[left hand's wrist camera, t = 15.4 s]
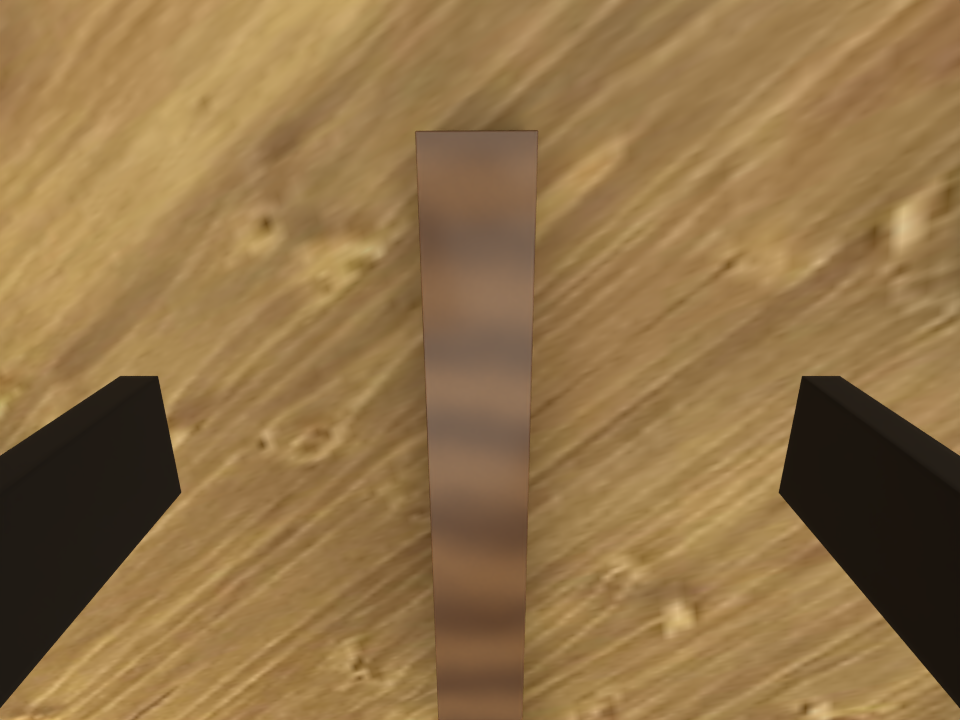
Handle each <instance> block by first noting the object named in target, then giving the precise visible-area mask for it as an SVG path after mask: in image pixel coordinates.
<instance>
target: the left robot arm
mask: <svg viewBox="0 0 960 720" xmlns="http://www.w3.org/2000/svg"><path fill="white" fill-rule="evenodd" d="M180 494H181V489H180V484H179V479H178V474H177V469H176V464H175V459H174V454H173V449H172V444H171V439H170V434H169V429H168V424H167V419H166V414H165V409H164V404H163V399H162V394H161V389H160V384H159V379H158V376H120V377H118V378H117V379H115V380H114V381H112V382H111V383H109V384H108V385H106V386H105V387H103V388H102V389H100V390H99V391H97V392H96V393H94V394H93V395H91V396H90V397H88V398H87V399H85V400H84V401H82V402H81V403H79V404H78V405H76V406H75V407H73V408H72V409H70V410H69V411H67V412H66V413H64V414H63V415H61V416H60V417H58V418H56V419H55V420H53V421H52V422H50V423H49V424H47V425H46V426H44V427H43V428H41V429H40V430H38V431H37V432H35V433H34V434H32V435H31V436H29V437H28V438H26V439H25V440H23V441H22V442H20V443H19V444H17V445H16V446H14V447H13V448H11V449H10V450H8V451H7V452H5V453H4V454H2V455H1V456H0V708H1V707H2V705H3V704H4V703H5V702H6V701H7V699H8V698H9V697H10V696H11V695H12V693H13V692H14V691H15V690H16V689H17V688H18V686H19V685H20V684H21V683H22V682H23V680H24V679H25V678H26V677H27V676H28V674H29V673H30V672H31V671H32V670H33V668H34V667H35V666H36V665H37V664H38V663H39V661H40V660H41V659H42V658H43V657H44V655H45V654H46V653H47V652H48V651H49V649H50V648H51V647H52V646H53V645H54V643H55V642H56V641H57V640H58V639H59V638H60V636H61V635H62V634H63V633H64V632H65V630H66V629H67V628H68V627H69V626H70V624H71V623H72V622H73V621H74V620H75V618H76V617H77V616H78V615H79V614H80V613H81V611H82V610H83V609H84V608H85V607H86V605H87V604H88V603H89V602H90V601H91V599H92V598H93V597H94V596H95V595H96V594H97V592H98V591H99V590H100V589H101V588H102V586H103V585H104V584H105V583H106V582H107V580H108V579H109V578H110V577H111V576H112V574H113V573H114V572H115V571H116V570H117V569H118V567H119V566H120V565H121V564H122V563H123V561H124V560H125V559H126V558H127V557H128V555H129V554H130V553H131V552H132V551H133V549H134V548H135V547H136V546H137V545H138V544H139V542H140V541H141V540H142V539H143V538H144V536H145V535H146V534H147V533H148V532H149V530H150V529H151V528H152V527H153V526H154V524H155V523H156V522H157V521H158V520H159V519H160V517H161V516H162V515H163V514H164V513H165V511H166V510H167V509H168V508H169V507H170V505H171V504H172V503H173V502H174V501H175V499H176V498H177V497H178V496H179V495H180ZM779 494H780V495H781V496H782V497H783V498H784V499H785V501H786V502H787V503H788V504H789V505H790V507H791V508H792V509H793V510H794V511H795V513H796V514H797V515H798V516H799V517H800V519H801V520H802V521H803V522H804V523H805V524H806V526H807V527H808V528H809V529H810V530H811V532H812V533H813V534H814V535H815V536H816V538H817V539H818V540H819V541H820V542H821V544H822V545H823V546H824V547H825V548H826V549H827V551H828V552H829V553H830V554H831V555H832V557H833V558H834V559H835V560H836V561H837V563H838V564H839V565H840V566H841V567H842V569H843V570H844V571H845V572H846V573H847V574H848V576H849V577H850V578H851V579H852V580H853V582H854V583H855V584H856V585H857V586H858V588H859V589H860V590H861V591H862V592H863V594H864V595H865V596H866V597H867V598H868V599H869V601H870V602H871V603H872V604H873V605H874V607H875V608H876V609H877V610H878V611H879V613H880V614H881V615H882V616H883V617H884V618H885V620H886V621H887V622H888V623H889V624H890V626H891V627H892V628H893V629H894V630H895V632H896V633H897V634H898V635H899V636H900V638H901V639H902V640H903V641H904V642H905V643H906V645H907V646H908V647H909V648H910V649H911V651H912V652H913V653H914V654H915V655H916V657H917V658H918V659H919V660H920V661H921V663H922V664H923V665H924V666H925V667H926V668H927V670H928V671H929V672H930V673H931V674H932V676H933V677H934V678H935V679H936V680H937V682H938V683H939V684H940V685H941V686H942V688H943V689H944V690H945V691H946V692H947V693H948V695H949V696H950V697H951V698H952V699H953V701H954V702H955V703H956V704H957V705H958V707H959V708H960V456H959V455H958V454H956V453H955V452H953V451H952V450H950V449H949V448H947V447H946V446H944V445H943V444H941V443H940V442H938V441H937V440H935V439H934V438H932V437H931V436H929V435H928V434H926V433H925V432H923V431H922V430H920V429H919V428H917V427H916V426H914V425H913V424H911V423H910V422H908V421H907V420H905V419H904V418H902V417H900V416H899V415H897V414H896V413H894V412H893V411H891V410H890V409H888V408H887V407H885V406H884V405H882V404H881V403H879V402H878V401H876V400H875V399H873V398H872V397H870V396H869V395H867V394H866V393H864V392H863V391H861V390H860V389H858V388H857V387H855V386H854V385H852V384H851V383H849V382H848V381H846V380H845V379H843V378H842V377H840V376H802V379H801V384H800V389H799V394H798V399H797V404H796V409H795V414H794V419H793V424H792V429H791V434H790V439H789V444H788V449H787V454H786V459H785V464H784V469H783V474H782V479H781V484H780V489H779Z"/></svg>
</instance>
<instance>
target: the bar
mask: <svg viewBox="0 0 960 720" xmlns="http://www.w3.org/2000/svg"><path fill="white" fill-rule="evenodd" d="M415 137H416V162H417V187H418V213H419V238H420V263H421V289H422V314H423V339H424V364H425V390H426V415H427V440H428V465H429V491H430V516H431V541H432V567H433V592H434V617H435V642H436V668H437V693H438V718H439V720H522V712H523V675H524V638H525V601H526V564H527V526H528V489H529V452H530V415H531V378H532V341H533V303H534V266H535V229H536V192H537V155H538V131H537V130H508V131H416V132H415Z"/></svg>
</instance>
